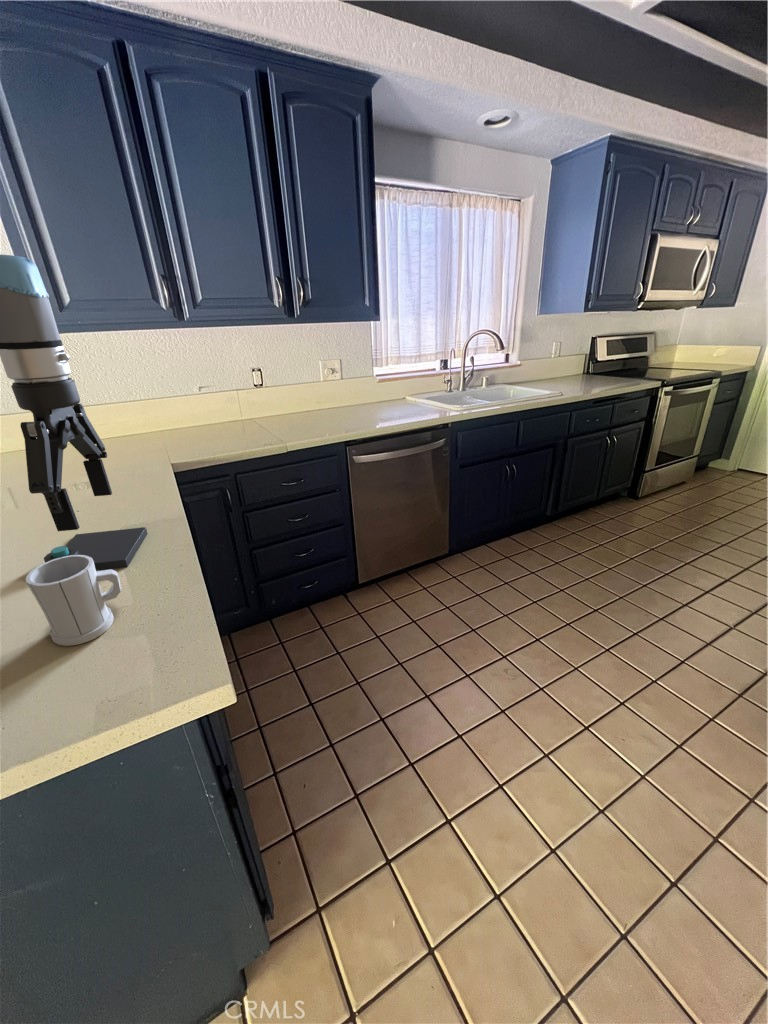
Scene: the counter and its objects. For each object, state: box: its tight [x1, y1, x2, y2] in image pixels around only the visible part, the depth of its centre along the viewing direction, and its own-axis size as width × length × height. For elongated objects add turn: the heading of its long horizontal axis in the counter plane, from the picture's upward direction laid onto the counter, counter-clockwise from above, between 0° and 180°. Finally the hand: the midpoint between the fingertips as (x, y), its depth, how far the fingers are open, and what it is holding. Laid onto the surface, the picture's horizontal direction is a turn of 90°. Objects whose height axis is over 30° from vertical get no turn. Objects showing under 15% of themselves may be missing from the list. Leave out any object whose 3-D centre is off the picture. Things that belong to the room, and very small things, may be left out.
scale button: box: [50, 545, 69, 559], centre depth 87 cm, size 3×3×2 cm
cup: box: [25, 555, 122, 647], centre depth 70 cm, size 10×9×12 cm
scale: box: [43, 526, 149, 571], centre depth 93 cm, size 15×15×4 cm
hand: (87, 510), depth 71 cm, fingers open, 13 cm apart
